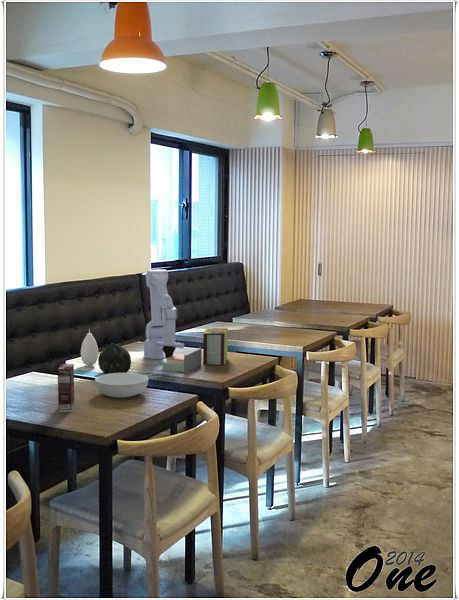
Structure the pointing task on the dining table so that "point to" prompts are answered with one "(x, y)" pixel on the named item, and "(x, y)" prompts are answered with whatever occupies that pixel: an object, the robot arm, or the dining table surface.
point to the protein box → (215, 346)
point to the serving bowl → (121, 384)
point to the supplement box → (66, 388)
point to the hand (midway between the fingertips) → (168, 361)
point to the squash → (114, 359)
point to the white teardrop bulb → (89, 350)
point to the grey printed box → (186, 362)
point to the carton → (176, 359)
